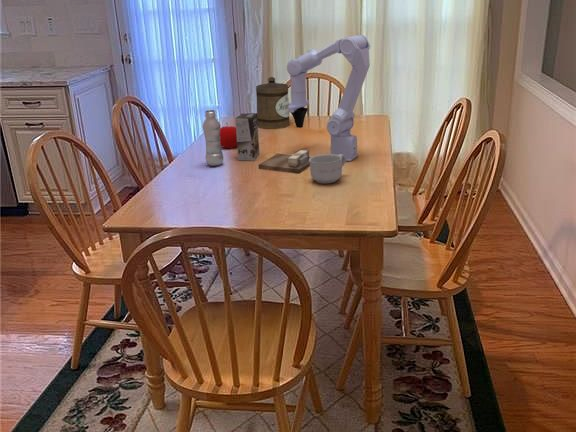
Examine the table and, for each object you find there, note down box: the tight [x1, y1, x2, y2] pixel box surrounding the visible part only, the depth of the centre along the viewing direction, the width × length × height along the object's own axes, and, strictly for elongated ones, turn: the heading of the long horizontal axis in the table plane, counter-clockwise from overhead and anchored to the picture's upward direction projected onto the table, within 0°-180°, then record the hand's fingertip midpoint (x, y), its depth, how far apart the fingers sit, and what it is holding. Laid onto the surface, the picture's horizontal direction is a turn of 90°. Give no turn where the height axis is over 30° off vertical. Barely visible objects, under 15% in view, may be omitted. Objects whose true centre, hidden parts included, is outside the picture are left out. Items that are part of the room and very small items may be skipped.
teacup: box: [309, 153, 347, 184], centre depth 188 cm, size 14×11×8 cm
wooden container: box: [255, 76, 290, 130], centre depth 260 cm, size 15×15×22 cm
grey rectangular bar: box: [288, 148, 310, 167], centre depth 203 cm, size 12×3×3 cm, turn 154°
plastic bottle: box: [202, 109, 224, 167], centre depth 206 cm, size 6×7×20 cm
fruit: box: [220, 122, 237, 149], centre depth 230 cm, size 9×9×10 cm
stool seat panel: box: [258, 153, 312, 174], centre depth 205 cm, size 16×15×4 cm
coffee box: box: [235, 112, 261, 162], centre depth 214 cm, size 9×6×16 cm
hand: (299, 127), depth 219 cm, fingers closed
